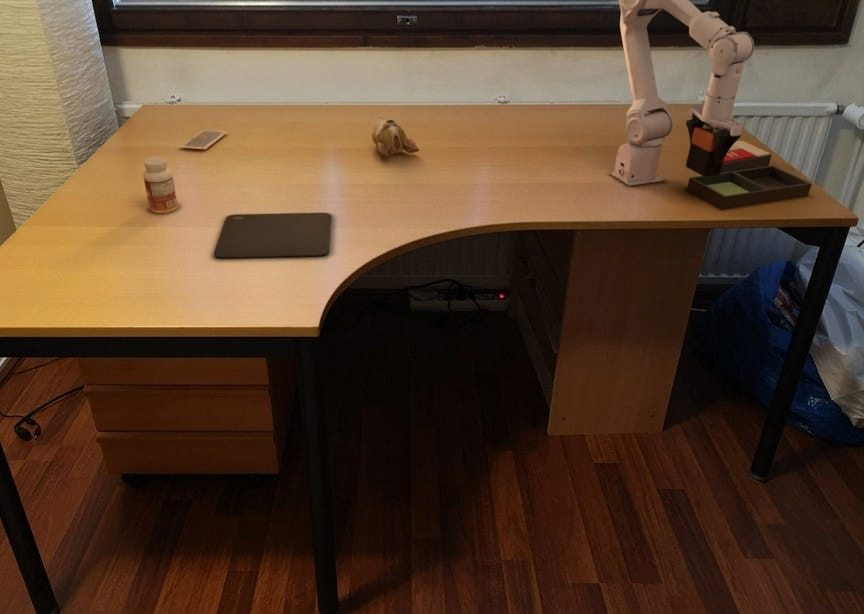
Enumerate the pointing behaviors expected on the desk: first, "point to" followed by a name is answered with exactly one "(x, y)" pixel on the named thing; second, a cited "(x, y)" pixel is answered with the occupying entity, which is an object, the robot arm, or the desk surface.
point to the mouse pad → (274, 235)
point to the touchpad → (203, 139)
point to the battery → (703, 151)
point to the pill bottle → (159, 185)
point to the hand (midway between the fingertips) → (705, 158)
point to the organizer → (748, 187)
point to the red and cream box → (744, 157)
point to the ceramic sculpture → (391, 138)
